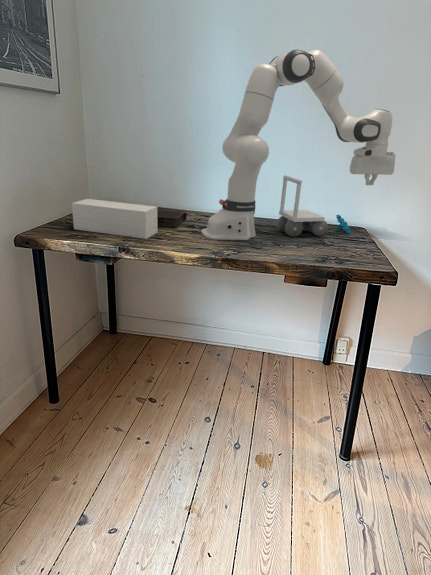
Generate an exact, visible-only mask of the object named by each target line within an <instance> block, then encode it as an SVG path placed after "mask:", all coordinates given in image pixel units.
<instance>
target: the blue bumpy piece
mask: <svg viewBox="0 0 431 575" xmlns="http://www.w3.org/2000/svg"><path fill="white" fill-rule="evenodd" d="M335 218H336V220H337V222H338V223H339V225H338V226H337V227H336V228H334V229H333V231H334V232H337V231H338V230H340V229H343V230H344V231H345V232H346V233H347V234H349V235H350V234H352V230H351V227H350V226H349V225H348V222H347V221H345V219H344V217H342V216H341V215H339V214H336V217H335Z"/></svg>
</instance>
